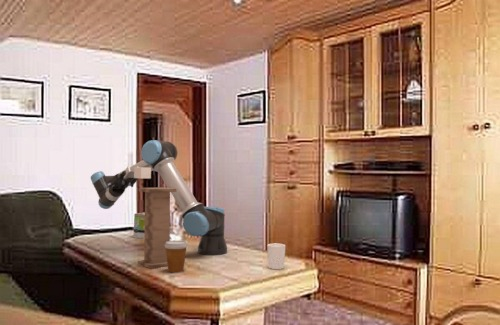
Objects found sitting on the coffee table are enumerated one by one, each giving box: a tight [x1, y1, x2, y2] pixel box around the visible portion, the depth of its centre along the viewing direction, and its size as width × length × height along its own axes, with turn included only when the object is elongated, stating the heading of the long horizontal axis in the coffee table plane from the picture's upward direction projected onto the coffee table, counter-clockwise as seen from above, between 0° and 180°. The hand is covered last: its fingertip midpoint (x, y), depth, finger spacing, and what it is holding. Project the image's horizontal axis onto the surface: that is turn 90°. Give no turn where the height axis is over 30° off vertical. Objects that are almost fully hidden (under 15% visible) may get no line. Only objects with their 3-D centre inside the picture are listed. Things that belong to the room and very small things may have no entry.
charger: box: [126, 167, 152, 180], centre depth 219 cm, size 20×5×5 cm, turn 41°
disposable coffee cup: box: [165, 240, 188, 273], centre depth 192 cm, size 10×10×12 cm
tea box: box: [133, 211, 145, 240], centre depth 280 cm, size 15×10×15 cm, turn 159°
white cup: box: [267, 242, 286, 270], centre depth 200 cm, size 8×8×10 cm
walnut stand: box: [137, 186, 176, 270], centre depth 203 cm, size 12×12×34 cm
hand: (133, 168), depth 221 cm, fingers closed on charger, 4 cm apart
